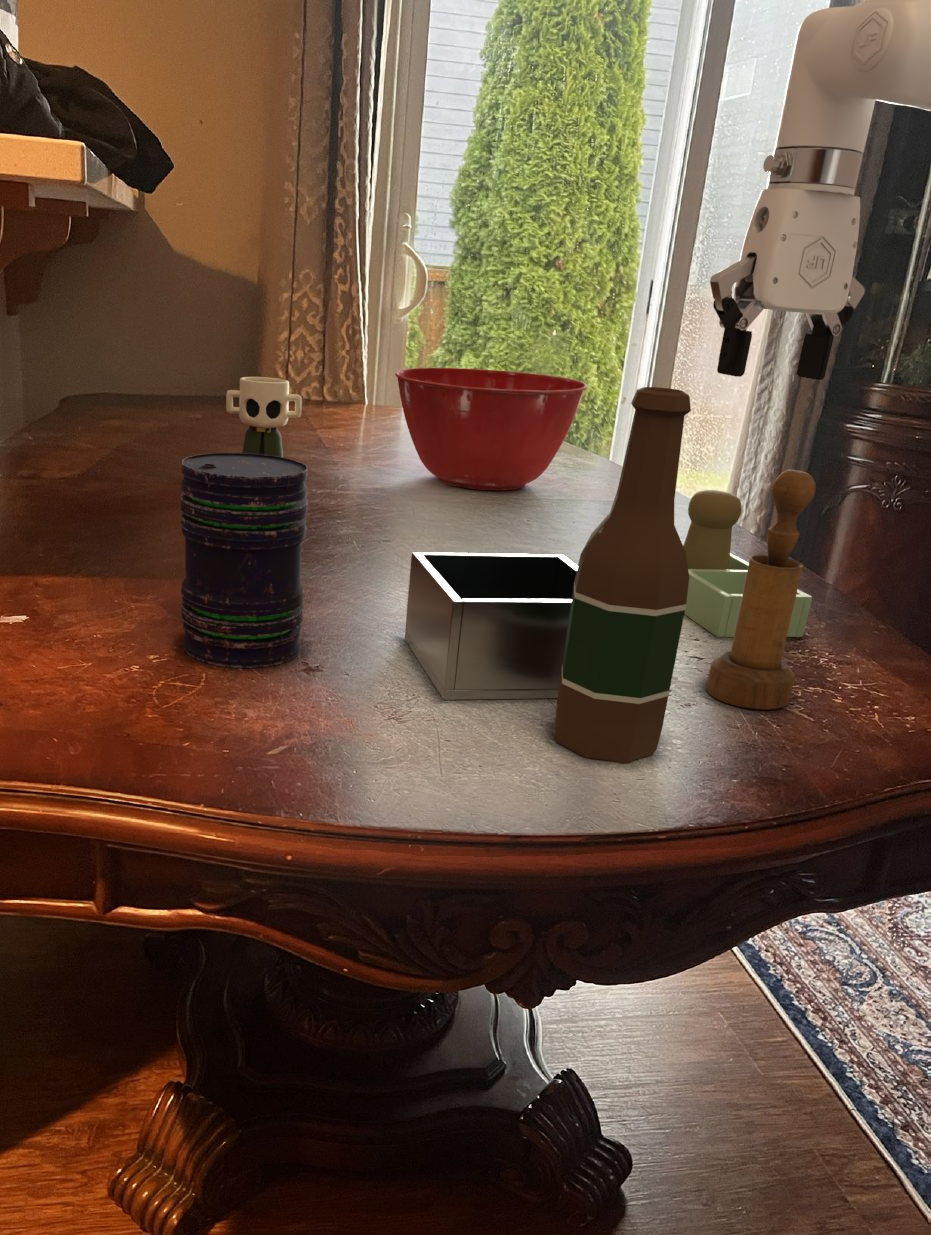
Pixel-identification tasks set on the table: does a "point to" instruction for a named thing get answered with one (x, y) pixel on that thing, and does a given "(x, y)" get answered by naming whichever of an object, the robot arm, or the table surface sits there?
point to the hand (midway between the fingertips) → (770, 376)
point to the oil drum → (243, 558)
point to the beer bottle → (629, 598)
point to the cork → (711, 529)
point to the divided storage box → (731, 600)
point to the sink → (490, 622)
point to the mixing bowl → (487, 423)
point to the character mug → (263, 412)
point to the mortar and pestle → (766, 610)
